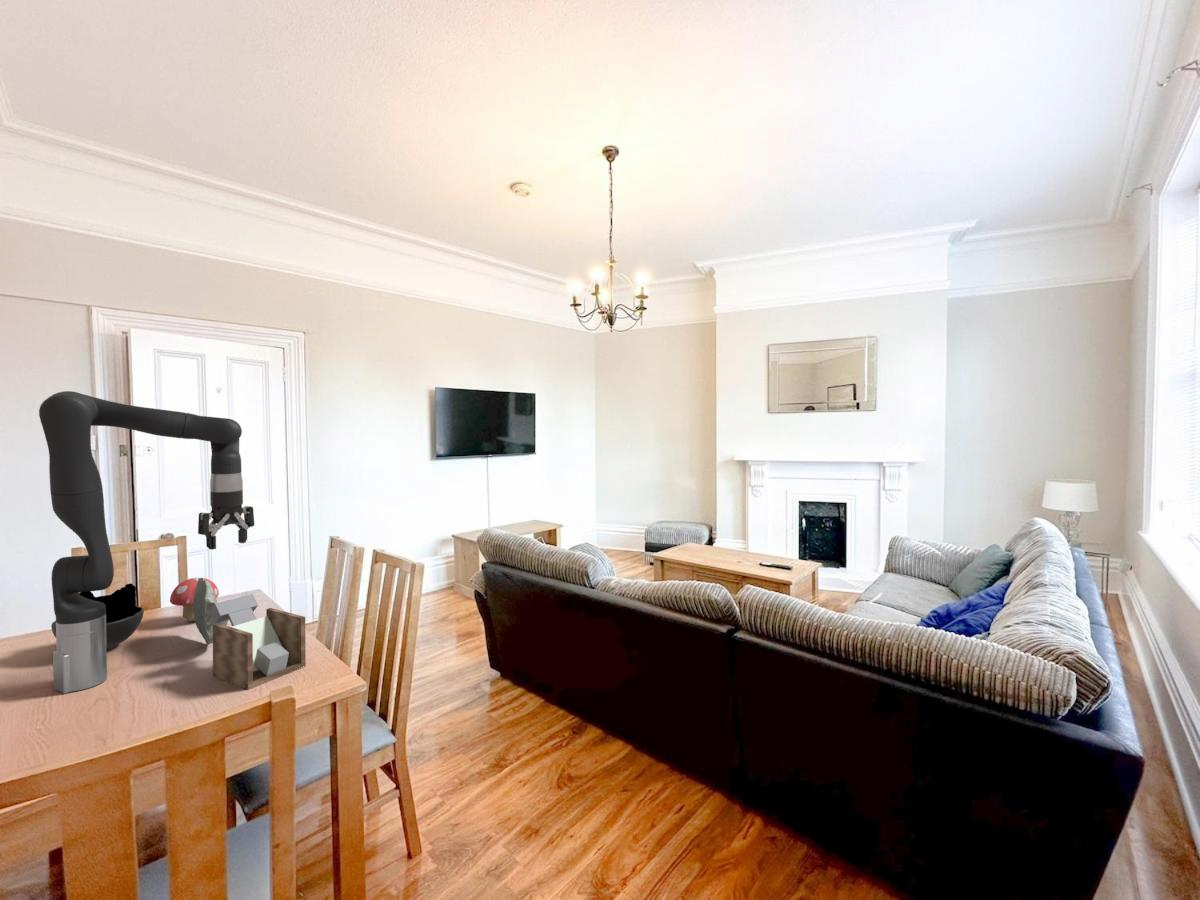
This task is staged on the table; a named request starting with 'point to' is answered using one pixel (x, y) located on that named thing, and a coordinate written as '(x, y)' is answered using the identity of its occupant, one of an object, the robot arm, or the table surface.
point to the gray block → (271, 658)
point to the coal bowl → (117, 614)
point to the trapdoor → (246, 621)
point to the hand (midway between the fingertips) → (227, 545)
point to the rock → (204, 609)
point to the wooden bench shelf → (238, 649)
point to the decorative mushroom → (188, 596)
